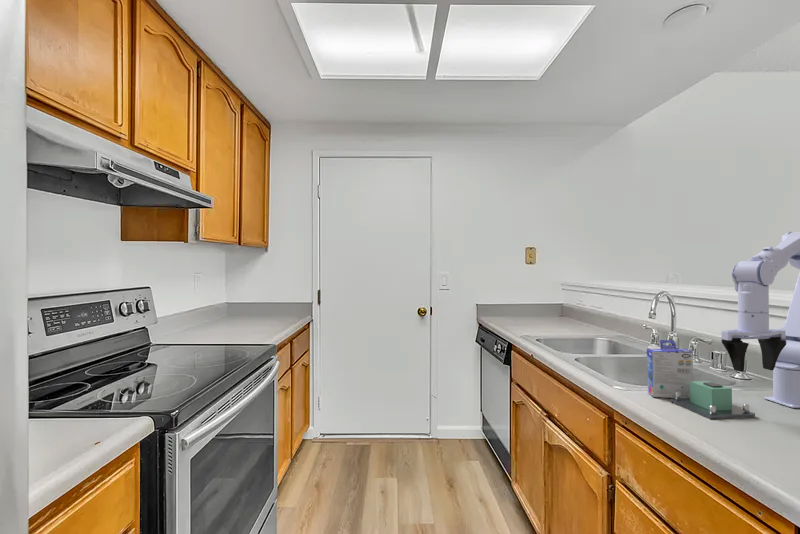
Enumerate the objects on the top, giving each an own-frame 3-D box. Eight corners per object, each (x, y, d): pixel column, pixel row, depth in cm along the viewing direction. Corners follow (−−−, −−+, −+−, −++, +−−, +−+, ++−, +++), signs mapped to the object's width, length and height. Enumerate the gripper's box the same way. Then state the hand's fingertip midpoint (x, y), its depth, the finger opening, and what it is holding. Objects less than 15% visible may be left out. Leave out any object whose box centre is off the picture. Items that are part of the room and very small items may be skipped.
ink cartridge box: (686, 393, 122) (685, 339, 122) (695, 399, 117) (694, 343, 117) (646, 392, 124) (645, 339, 124) (653, 397, 119) (652, 342, 119)
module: (708, 400, 113) (708, 379, 113) (731, 409, 106) (731, 386, 106) (690, 401, 113) (689, 379, 113) (712, 410, 106) (711, 387, 106)
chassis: (710, 399, 116) (710, 389, 116) (755, 417, 103) (755, 405, 103) (670, 401, 115) (670, 391, 115) (710, 419, 102) (710, 407, 102)
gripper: (738, 314, 102) (739, 375, 102) (798, 313, 103) (798, 372, 103) (714, 311, 109) (714, 368, 109) (769, 309, 110) (770, 366, 110)
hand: (753, 370), depth 107 cm, fingers open, 7 cm apart
